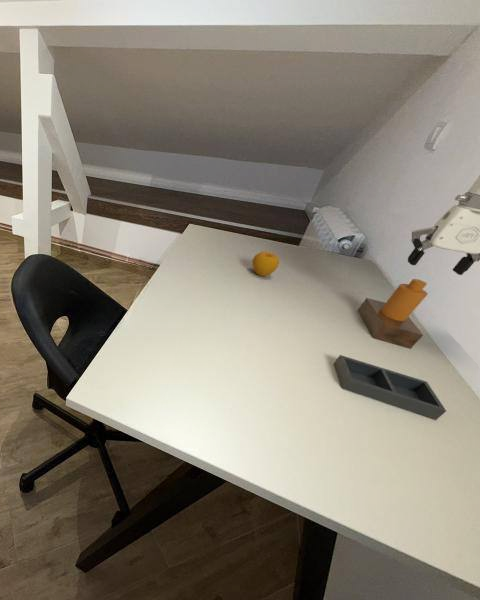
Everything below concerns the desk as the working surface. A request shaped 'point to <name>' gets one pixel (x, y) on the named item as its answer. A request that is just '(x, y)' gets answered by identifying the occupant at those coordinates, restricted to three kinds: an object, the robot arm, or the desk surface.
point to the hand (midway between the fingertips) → (433, 268)
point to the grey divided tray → (388, 387)
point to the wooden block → (388, 325)
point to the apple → (265, 263)
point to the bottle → (404, 300)
